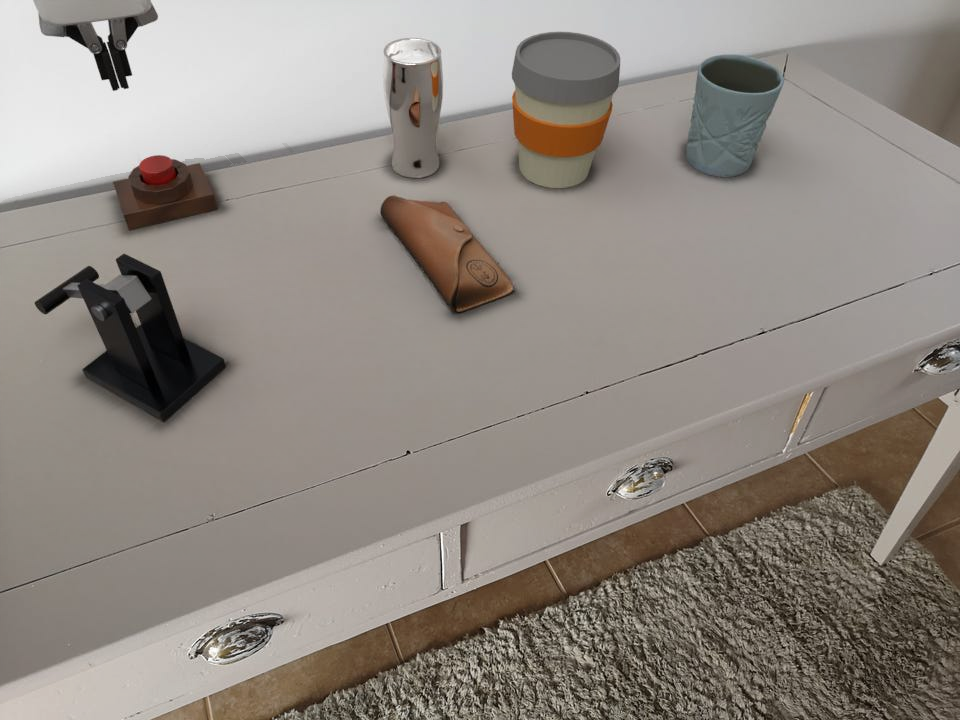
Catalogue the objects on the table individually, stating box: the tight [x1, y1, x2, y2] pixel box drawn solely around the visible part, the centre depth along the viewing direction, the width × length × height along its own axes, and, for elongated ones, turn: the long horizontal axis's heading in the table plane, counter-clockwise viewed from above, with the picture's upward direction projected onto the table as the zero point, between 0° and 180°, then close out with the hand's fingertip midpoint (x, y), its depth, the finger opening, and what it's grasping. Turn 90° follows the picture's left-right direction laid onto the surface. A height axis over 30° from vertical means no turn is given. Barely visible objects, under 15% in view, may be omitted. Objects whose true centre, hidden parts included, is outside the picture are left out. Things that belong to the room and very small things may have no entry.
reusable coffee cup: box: [511, 31, 621, 189], centre depth 94 cm, size 13×12×15 cm
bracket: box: [77, 253, 227, 422], centre depth 69 cm, size 10×8×12 cm
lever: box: [34, 265, 152, 315], centre depth 69 cm, size 12×6×2 cm, turn 60°
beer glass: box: [382, 37, 444, 179], centre depth 93 cm, size 7×7×15 cm
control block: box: [112, 158, 219, 231], centre depth 90 cm, size 10×7×4 cm
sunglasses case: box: [379, 194, 516, 313], centre depth 86 cm, size 18×7×7 cm
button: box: [138, 154, 176, 185], centre depth 88 cm, size 4×4×2 cm
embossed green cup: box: [685, 54, 785, 178], centre depth 98 cm, size 10×10×12 cm
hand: (118, 83), depth 80 cm, fingers closed
